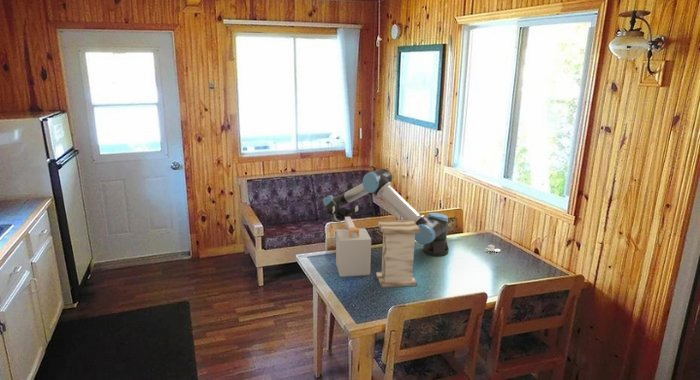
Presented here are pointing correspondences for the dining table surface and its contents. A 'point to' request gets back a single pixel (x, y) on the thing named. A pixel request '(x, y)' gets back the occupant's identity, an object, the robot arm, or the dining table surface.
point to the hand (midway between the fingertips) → (345, 207)
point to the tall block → (353, 253)
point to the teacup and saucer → (491, 248)
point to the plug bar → (351, 227)
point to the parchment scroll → (397, 253)
